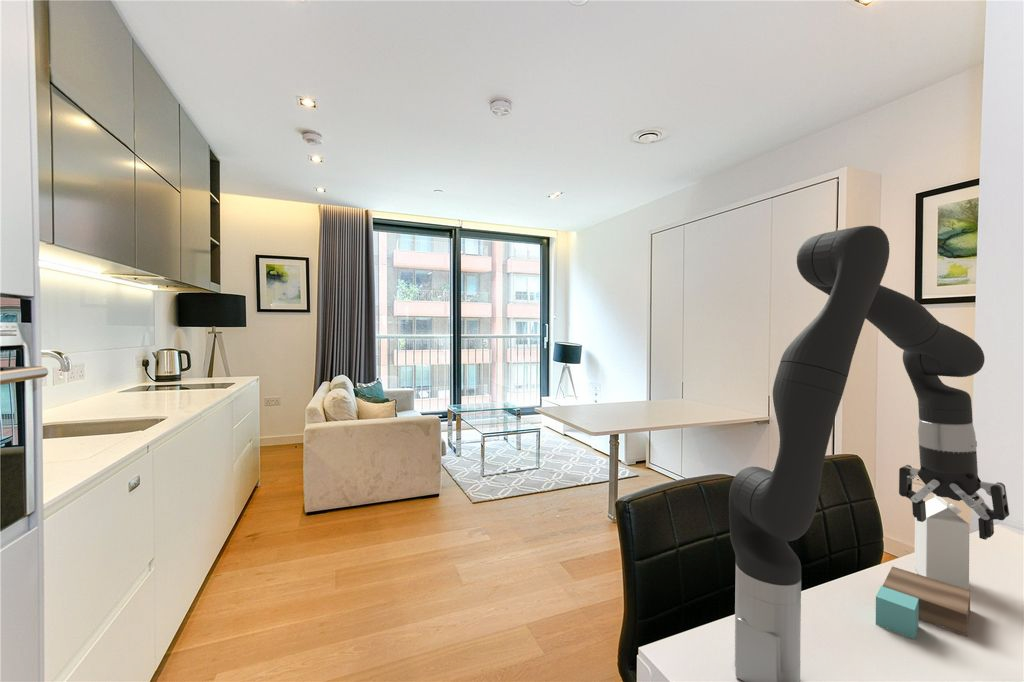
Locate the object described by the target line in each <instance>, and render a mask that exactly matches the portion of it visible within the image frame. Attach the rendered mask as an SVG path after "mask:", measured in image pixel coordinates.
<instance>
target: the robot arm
mask: <svg viewBox="0 0 1024 682" xmlns="http://www.w3.org/2000/svg"><path fill="white" fill-rule="evenodd" d="M889 259H890V242H889V238H888V235H887V234H886V232H885V231H884V230H883V229H882V228H880V227H878V226H875V225H862V226H861V225H860V226H856V227H849V228H845V229H840V230H833V231H829V232H824V233H821V234H818V235H814V236H811V237H809V238H807V239H806V240H805V241H803V242H802V244H801V245H800V247H799V249H798V251H797V254H796V266H797V269H798V272H799V273H800V275H801V277H802V278H803V279H804V280H805V281H806V282H807V283H809V284H810V285H811V286H813V287H814V288H816V289H817V290H819V291H821V292H823V293H825V294H826V295H827V296H828V299H827V301H826V303H825V304H824V306H823V308H822V309H821V310H820V311H819V313H817V315H816V316H815V318H813V320H812V321H811V322H810V323H808V325H807V326H806V327H804V329H803V330H802V331H801V332H800V333H799V334H798V335H797V336H796V337H795V338H794V339H793V340H792V341H791V343H790V344H789V345H788V346H787V347H786V348H785V350H784V351H783V354H782V356H781V359H780V361H779V362H780V363H779V365H778V369H777V371H776V376H775V378H774V382H773V387H772V399H773V401H772V402H773V408H774V413H775V418H776V422H777V425H778V427H777V428H778V432H779V445H778V446H779V447H778V453H777V457H776V461H775V464H774V468H773V470H772V471H771V470H770V469H766V468H763V467H760V466H749V467H745V468H743V469H741V470H740V471H739V472H738V473H736V475H735V476H734V477H733V480H732V481H731V483H730V488H729V493H728V494H729V495H728V512H729V513H728V519H729V535H730V536H729V539H730V543H731V545H732V548H733V552H734V554H735V580H734V581H735V584H734V585H735V592H734V596H735V597H734V598H735V599H734V601H735V603H734V615H735V616H734V667H735V677H736V678H737V679H739V680H741V681H742V682H801V638H802V637H801V629H802V626H801V625H802V624H801V621H802V619H801V618H802V617H801V615H802V614H801V613H802V607H801V606H802V603H801V601H802V565H801V561H800V560H801V559H799V557H798V555H797V554H796V552H794V550H793V548H791V546H790V545H789V543H788V542H791V541H796V540H798V539H800V538H801V537H803V535H805V534H806V533H807V531H808V530H809V528H810V526H811V525H812V523H813V520H814V518H815V515H816V511H817V507H818V503H819V502H818V501H819V496H820V494H819V493H820V489H821V483H822V477H823V471H824V470H823V469H824V464H825V460H826V454H827V450H828V445H829V443H830V438H831V435H832V434H831V433H832V431H833V426H834V423H835V418H836V416H837V412H838V409H839V406H840V403H841V401H842V398H843V395H844V392H845V388H846V384H847V381H848V377H849V374H850V373H849V372H850V370H851V365H852V362H853V357H854V354H855V350H856V348H857V344H858V342H859V338H860V335H861V331H862V329H863V326H864V323H865V321H868V322H870V323H871V324H872V325H873V326H874V327H876V328H877V329H878V330H879V332H881V333H882V334H883V335H884V336H885V337H887V338H888V340H890V342H892V343H893V345H895V346H896V347H898V348H899V349H901V350H903V352H902V363H903V366H904V369H905V371H906V373H907V376H908V377H909V380H910V382H911V384H912V388H913V390H914V392H915V394H916V397H917V405H918V419H919V420H918V428H917V431H918V432H917V434H918V450H919V464H920V466H919V467H920V468H916V467H915V468H914V467H912V466H911V465H910V464H906V465H904V466H902V467H900V468H899V470H898V471H899V472H898V478H899V479H898V494H899V495H900V496H901V497H905V498H907V499H909V500H910V501H911V506H912V507H911V508H912V515H913V517H914V518H915V517H916V518H917V521H920V522H923V521H925V520H926V507H925V502H926V501H925V500H924V499H925V498H926V497H928V496H929V495H930V494H932V493H933V495H934V494H936V496H939V497H941V498H949V499H951V500H953V501H958V502H960V501H963V503H965V504H966V505H967V506H968V508H970V509H972V510H973V511H974V512H975V513H976V514H977V515H978V521H977V522H978V523H977V524H978V534H979V536H978V537H979V539H981V540H984V541H985V540H987V539H989V538H991V537H992V536H993V535H994V533H995V527H994V526H995V525H994V520H998V521H1004V520H1005V519H1006V518H1008V517H1009V516H1010V511H1009V503H1008V496H1007V490H1006V486H1005V484H1004V483H1003V482H998V481H997V482H996V483H993V482H986V481H982V480H981V479H980V477H979V473H978V472H979V471H978V470H979V468H978V455H977V452H978V451H977V446H978V444H977V443H978V442H977V439H976V437H977V436H976V432H975V428H974V423H973V420H974V419H973V407H972V398H971V395H970V393H968V392H967V391H965V390H963V389H959V388H955V387H951V386H949V385H946V384H944V383H943V382H942V380H941V379H940V377H950V378H965V377H966V378H967V377H971V376H974V375H975V374H977V373H978V372H980V371H981V370H982V369H983V366H984V364H985V354H984V351H983V349H982V347H981V346H980V345H979V343H977V342H976V341H975V340H974V339H973V338H972V337H970V336H968V335H966V334H965V333H962V332H960V331H958V330H957V329H955V328H953V327H951V326H949V325H947V324H944V323H942V322H939V320H938V319H936V317H935V316H933V314H931V313H930V311H929V310H927V309H926V307H925V306H924V305H923V304H921V303H919V302H918V301H917V300H915V299H914V298H912V297H910V296H909V295H906V294H903V293H901V292H899V291H897V290H894V289H892V288H890V287H886V286H884V285H882V284H881V283H882V280H883V278H884V277H885V273H886V270H887V267H888V264H889ZM916 477H919V479H920V481H922V482H923V484H924V486H923V487H922V488H920V489H918V491H914V490H913V479H915V478H916ZM980 489H983V490H984V491H985V493H986V494H987V495H988V496H990V497H991V501H992V509H991V508H990V507H989V505H987V504H986V502H985V500H984V499H983V498H982V496H981V495H979V493H978V491H980Z"/></svg>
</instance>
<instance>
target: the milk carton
mask: <svg viewBox="0 0 1024 682" xmlns="http://www.w3.org/2000/svg"><path fill="white" fill-rule="evenodd" d="M925 507H926V520H925V521H923V522H920V521H917V518H916V517H914V570H915V571H916V572H917V574H919V575H922V576H925V577H928V578H932V579H935V580H938V581H941V582H945V583H948V584H951V585H954V586H958V587H961V588H964V589H967V590H970V523H968V522H967V521H966V520H965V519H963V517H961V516H960V515H959V514H960V513H961V512H962V509H959V508H958V507H957V506H955V505H954V504H953V503H950V504H949V502H948V501H947V500H945V499H944V498H943V497H939V496H936V494H934V493H933V498H930V499H928V500H926V501H925Z"/></svg>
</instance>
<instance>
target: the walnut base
mask: <svg viewBox="0 0 1024 682" xmlns="http://www.w3.org/2000/svg"><path fill="white" fill-rule="evenodd" d="M882 586H883V587H886V588H889V589H892V590H895V591H898V592H901V593H904V594H907V595H910V596H912V597H915V598H918V599H919V614H918V620H922V621H924V622H927V623H930V624H933V625H936V626H937V627H941V628H943V629H947V630H949V631H952V632H955V633H957V634H959V635H963V636H965V637H967V636H968V630H969V622H970V614H971V613H970V612H971V589H969V590H967V589H964V588H961V587H958V586H954V585H951V584H948V583H945V582H941V581H938V580H935V579H932V578H928V577H925V576H922V575H920V574H919V573H915V572H912V571H908V570H905V569H901V568H900V567H899V568H898V567H895V566H891V568H890V570H889V572H888V574H887V576H886V578H885V580H884V582H883V584H882Z"/></svg>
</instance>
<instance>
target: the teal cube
mask: <svg viewBox="0 0 1024 682" xmlns="http://www.w3.org/2000/svg"><path fill="white" fill-rule="evenodd" d="M918 614H919V599H918V598H915V597H912V596H910V595H907V594H904V593H901V592H898V591H895V590H892V589H889V588H886V587H883V585H880V587H879V589H878V591H877V593H876V595H875V625H876V626H879V627H882V628H885V629H887V630H889V631H891V632H894V633H898V634H899V635H903V636H904V637H907V638H910V639H912V640H915V639H916V636H917V633H918V629H919V618H918Z"/></svg>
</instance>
